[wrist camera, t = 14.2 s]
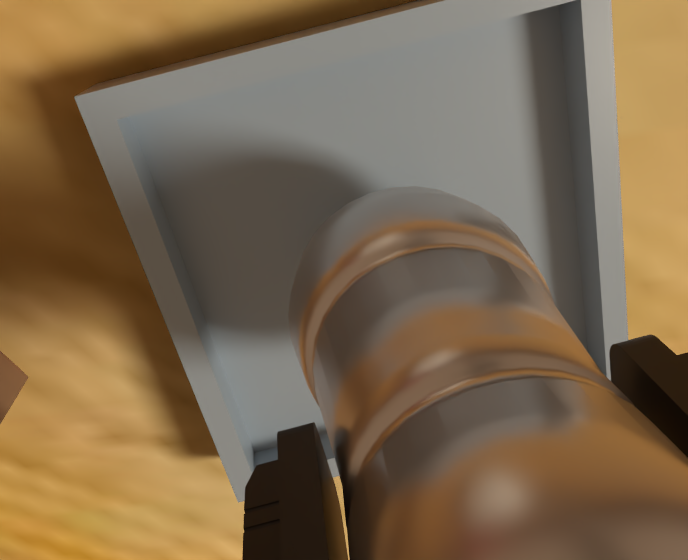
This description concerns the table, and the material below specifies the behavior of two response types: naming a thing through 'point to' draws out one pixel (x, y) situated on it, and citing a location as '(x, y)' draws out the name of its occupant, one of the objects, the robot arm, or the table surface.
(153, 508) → the table surface
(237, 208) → the tray
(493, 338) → the plastic bottle
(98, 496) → the table surface
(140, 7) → the table surface
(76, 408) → the table surface
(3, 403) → the walnut block
